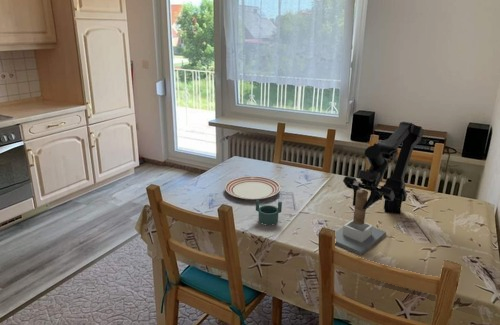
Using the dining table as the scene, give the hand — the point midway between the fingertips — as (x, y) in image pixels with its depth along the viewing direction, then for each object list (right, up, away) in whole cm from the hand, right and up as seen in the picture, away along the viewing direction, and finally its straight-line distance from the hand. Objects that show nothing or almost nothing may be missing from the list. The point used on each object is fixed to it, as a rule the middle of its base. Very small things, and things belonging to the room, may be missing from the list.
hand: (358, 207), depth 134 cm
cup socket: (+1, -12, +5) cm, 13 cm away
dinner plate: (-39, +2, +46) cm, 60 cm away
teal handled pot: (-33, -8, +18) cm, 38 cm away
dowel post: (+1, -6, +3) cm, 7 cm away
